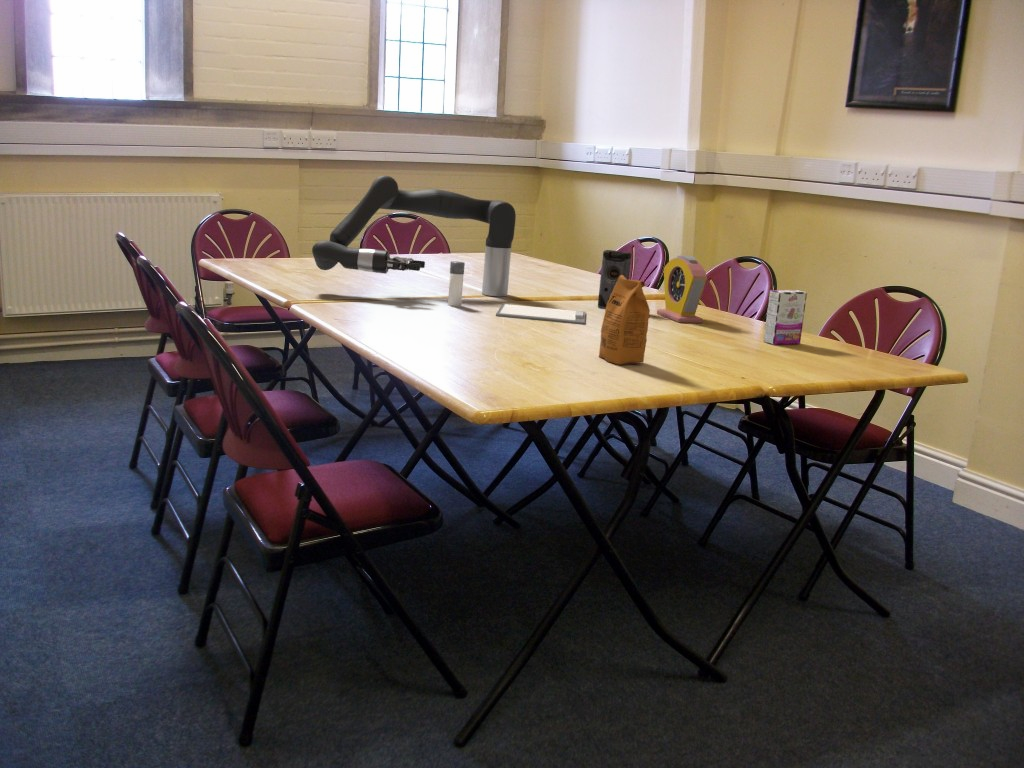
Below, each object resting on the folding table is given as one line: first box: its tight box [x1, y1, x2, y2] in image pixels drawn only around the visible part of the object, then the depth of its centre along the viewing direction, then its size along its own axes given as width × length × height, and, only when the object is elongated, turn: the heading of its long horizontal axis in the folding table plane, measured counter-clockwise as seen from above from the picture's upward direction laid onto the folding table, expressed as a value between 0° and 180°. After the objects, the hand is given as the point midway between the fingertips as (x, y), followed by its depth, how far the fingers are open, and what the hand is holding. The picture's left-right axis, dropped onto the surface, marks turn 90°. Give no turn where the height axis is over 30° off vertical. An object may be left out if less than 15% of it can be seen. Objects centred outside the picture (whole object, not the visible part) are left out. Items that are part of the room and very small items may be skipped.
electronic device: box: [597, 249, 632, 310], centre depth 341 cm, size 9×6×20 cm, turn 68°
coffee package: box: [598, 275, 651, 366], centre depth 254 cm, size 10×12×22 cm
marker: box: [447, 260, 465, 308], centre depth 320 cm, size 5×5×14 cm
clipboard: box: [495, 303, 586, 325], centre depth 318 cm, size 22×28×2 cm
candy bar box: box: [763, 289, 808, 346], centre depth 301 cm, size 11×5×16 cm, turn 117°
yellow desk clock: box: [656, 254, 708, 324], centre depth 331 cm, size 22×9×22 cm, turn 18°
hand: (422, 266), depth 320 cm, fingers open, 8 cm apart
